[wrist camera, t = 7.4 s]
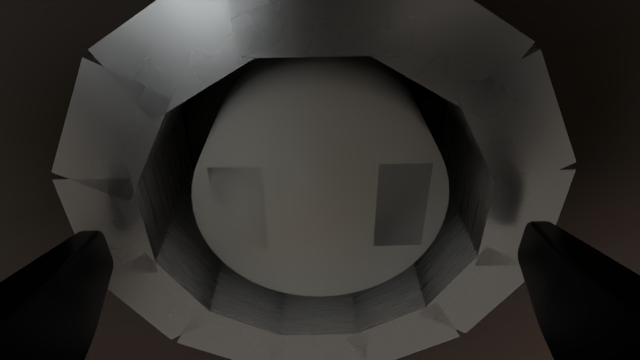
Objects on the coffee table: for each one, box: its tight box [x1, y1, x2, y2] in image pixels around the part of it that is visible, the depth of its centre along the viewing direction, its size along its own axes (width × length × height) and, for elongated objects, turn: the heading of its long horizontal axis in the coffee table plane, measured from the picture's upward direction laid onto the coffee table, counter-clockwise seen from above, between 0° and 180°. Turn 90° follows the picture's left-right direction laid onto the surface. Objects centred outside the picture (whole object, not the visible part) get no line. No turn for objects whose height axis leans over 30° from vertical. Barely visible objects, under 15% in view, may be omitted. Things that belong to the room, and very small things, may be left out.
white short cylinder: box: [191, 56, 449, 297], centre depth 12 cm, size 6×6×4 cm
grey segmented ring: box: [51, 0, 576, 360], centre depth 12 cm, size 11×11×4 cm
